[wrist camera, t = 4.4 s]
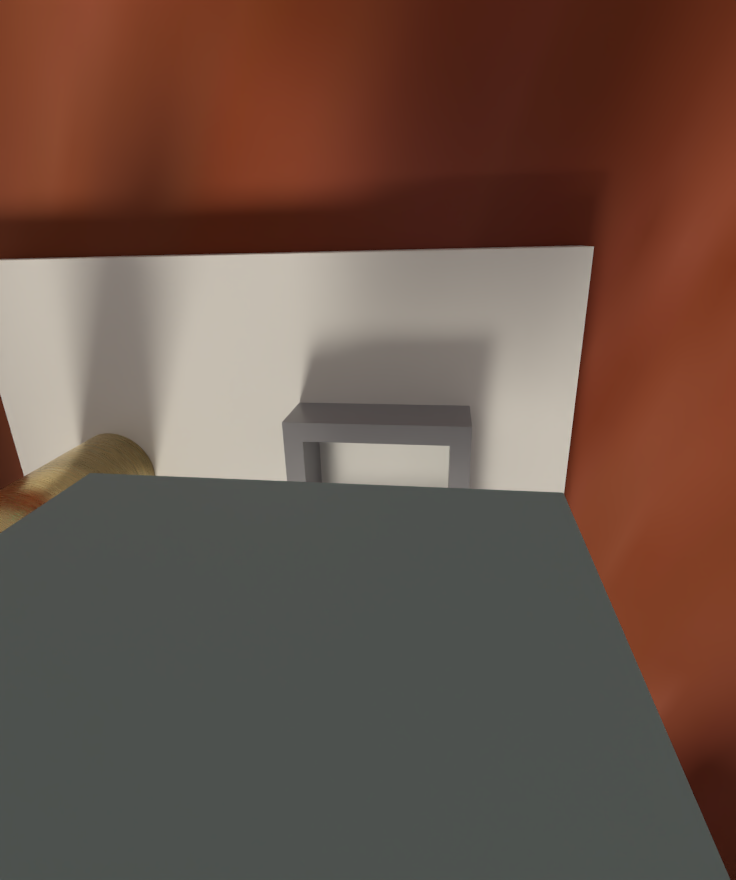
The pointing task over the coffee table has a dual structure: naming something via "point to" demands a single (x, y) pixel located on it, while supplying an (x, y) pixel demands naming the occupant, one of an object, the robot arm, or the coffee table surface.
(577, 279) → the board
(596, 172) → the coffee table surface
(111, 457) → the pin
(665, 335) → the coffee table surface
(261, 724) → the block
